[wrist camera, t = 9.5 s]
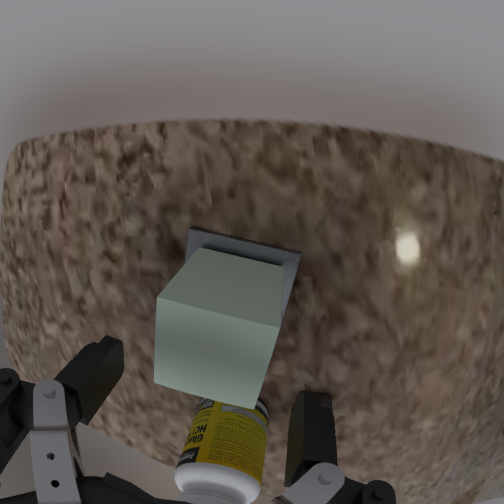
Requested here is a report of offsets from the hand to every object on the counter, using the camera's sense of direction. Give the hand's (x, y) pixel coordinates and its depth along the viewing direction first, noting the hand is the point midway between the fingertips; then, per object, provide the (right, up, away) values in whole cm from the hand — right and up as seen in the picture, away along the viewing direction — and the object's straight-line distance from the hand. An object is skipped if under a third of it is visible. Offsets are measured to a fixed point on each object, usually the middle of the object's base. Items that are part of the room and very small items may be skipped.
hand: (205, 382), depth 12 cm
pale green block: (+1, +3, +7) cm, 8 cm away
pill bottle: (0, -8, +12) cm, 15 cm away
